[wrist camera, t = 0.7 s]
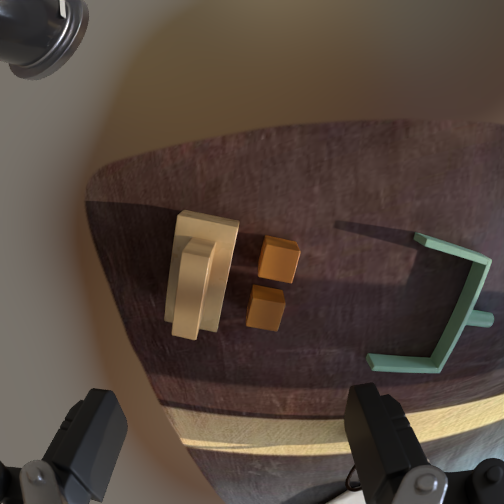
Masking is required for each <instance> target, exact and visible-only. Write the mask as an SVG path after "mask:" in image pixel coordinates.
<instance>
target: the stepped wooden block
mask: <svg viewBox="0 0 504 504" xmlns="http://www.w3.org/2000/svg"><path fill="white" fill-rule="evenodd" d="M238 227H239V221H237V220H232V219H228V218H223V217H218V216H213V215H208V214H203V213H198V212H193V211H188V210H183V211H182V212H181V213H180V214H178V215H177V221H176V228H175V234H174V241H173V248H172V255H171V263H170V271H169V279H168V288H167V297H166V306H165V316H164V321H167V322H172V333H171V334H172V335H174V336H179V337H183V338H188V339H192V340H196V338H197V335H198V331H199V329H203V330H208V331H212V332H217V329H218V324H219V319H220V314H221V309H222V304H223V299H224V294H225V289H226V284H227V279H228V274H229V270H230V265H231V260H232V255H233V250H234V246H235V241H236V236H237V232H238Z"/></svg>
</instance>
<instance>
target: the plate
mask: <svg viewBox="0 0 504 504" xmlns="http://www.w3.org/2000/svg"><path fill="white" fill-rule="evenodd" d="M359 487H361V486H358V487H355V488H359ZM325 504H366V503H365V499H364V495H363V492H362V490H361V491H358V492H352V491H349V490H347V491H345V492H344V493H342V494H341V495H339V496H337V497H336V498H334V499H332V500H331V501H329V502H327V503H325Z"/></svg>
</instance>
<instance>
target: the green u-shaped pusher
mask: <svg viewBox="0 0 504 504" xmlns="http://www.w3.org/2000/svg"><path fill="white" fill-rule="evenodd" d="M413 239H414V240H415V241H417V242H419V243H420V244H422V245H424V246H426V247H429V248H432V249H436V250H439V251H442V252H446V253H449V254H452V255H456V256H459V257H462V258H465V259H468V260H472V261H473V264H472V266H471V269H470V272H469V274H468V277H467V280H466V282H465V285H464V287H463V290H462V292H461V295H460V297H459V299H458V302H457V304H456V306H455V308H454V311H453V313H452V315H451V317H450V319H449V321H448V324H447V326H446V328H445V330H444V332H443V334H442V336H441V338H440V340H439V342H438V344H437V346H436V348H435V349H434V351H433V353H432V355H431V357H430V358H427V357H409V356H395V355H383V354H372V353H368V354H367V356H366V360H367V362H368V364H369V366H370V368H371V370H372V371H384V372H407V373H440V371H441V370H442V368H443V366H444V364H445V363H446V361H447V359H448V357H449V356H450V354H451V352H452V350H453V348H454V346H455V344H456V343H457V341H458V339H459V337H460V335H461V333H462V331H463V329H464V327H465V325H471V326H479V327H490V326H492V324H493V322H494V316H493V314H492V313H489V312H484V311H478V310H473V307H474V305H475V303H476V301H477V298H478V296H479V294H480V291H481V289H482V286H483V284H484V281H485V279H486V276H487V273H488V271H489V268H490V265H491V262H492V260H491V259H490V258H488V257H486V256H484V255H482V254H481V253H478V252H475V251H472V250H469V249H466V248H463V247H461V246H458V245H455V244H452V243H449V242H445V241H442V240H439V239H436V238H433V237H430V236H427V235H424V234H420V233H417V232H415V235H414V238H413Z"/></svg>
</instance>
